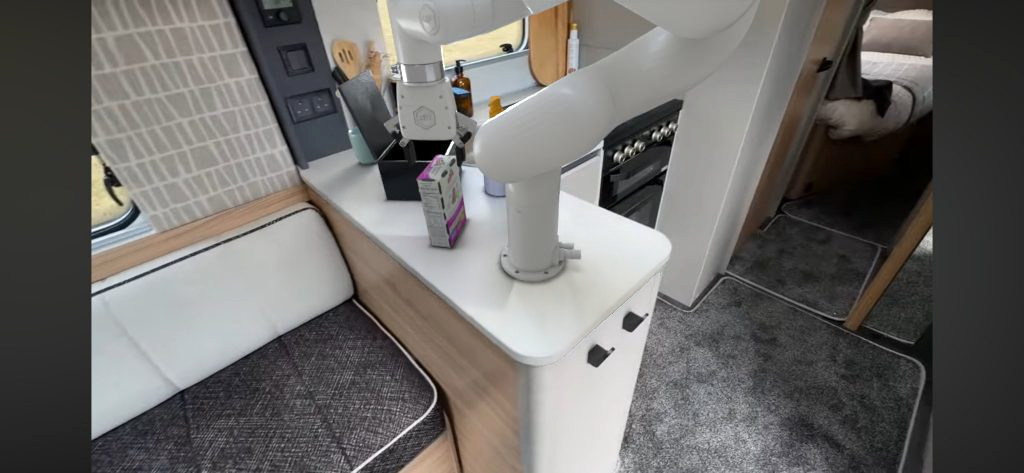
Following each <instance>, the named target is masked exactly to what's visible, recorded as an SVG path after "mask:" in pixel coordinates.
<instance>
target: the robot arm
mask: <svg viewBox="0 0 1024 473" xmlns="http://www.w3.org/2000/svg"><path fill="white" fill-rule="evenodd" d="M385 1H386V8H387V12H388V18H389V23H390V28H391V34H392V39H393V46H394V49H395V55H396V60H397V61H396V63H395V64H391V65H390V71H391V73H392V74H397V75H398V77H399V80H398V81H396V105H397V114H396V115H394V116H391V117H392V118H390V119H389V120H387V121H386V122H385V123H384V126H385V127H386V129H387V130H388V131H389V133H391V136H392V137H393V138H394V139H395V140H396V141H397V142H399V143H400V146H401V147H403V150H404V155H405V159H406V160H408V165H409V166H413V165H414V163H415V161H416V153H415V148H414V143H413V141H411V140H450V139H451V140H452V141H453V142H454V143H455V144H456V145H457V146H456V148H455V153H456V161H457V166H458V167H461V166H463V163H464V162H466V160H467V154H466V144H467V143H468V142H469V141H470V140H471V138H472V137H473V135H474V132H475V130H476V127H477V125H478V122H477V121H476V120H474V119H473V118H471V117H469V116H466V115H465V114H464V113H463V114H462V113H461V112H458V109H457V108H458V107H457V104H456V100H455V94H454V90H453V87H452V84H451V81H450V78H449V77H446V70H445V63H444V56H443V55H444V54H443V47H442V46H449V45H453V44H457V43H461V42H463V41H467V40H469V39H473V38H477V37H480V36H484V35H486V34H490V33H492V32H495V31H497V30H499V29H501V28H503V27H506V26H508V25H511V24H514V23H516V22H518V21H521V20H523V19H525V18H528V17H530V16H532V15H539V14H540V13H542V12H545V11H548V10H549V9H552V8H555V7H557V6H559V5H561V4H564V3H566V2H569V0H385ZM612 1H614V2H615V3H616V4H619V5H621V6H622V7H624V8H626V9H627V10H630V11H631V12H632V13H634V14H636V15H638V16H640V17H642V18H643V19H645V20H647V21H648V22H650V23H651V24H652V25H655V26H656V27H654V28H652V29H651V30H649V31H648V32H646V33H644V34H643V35H641V36H639V37H638V38H636V39H634V40H632V41H631V42H629V43H628V44H626V45H624V46H623V47H621V48H620V49H618V50H616V51H614V52H612V53H611V54H609V55H607V56H605V57H603V58H602V59H600V60H598V61H596V62H594V63H592V64H590V65H587V66H585V67H582V68H579V69H576V70H574V71H572V72H569V73H568V74H566V75H565V76H563V77H561V78H559V79H558V80H556V81H554V82H552V83H551V84H549V85H548V86H545V87H544V88H542V89H541V90H539V91H537V92H535V93H534V94H532V95H530V96H528V97H527V98H525V99H522V100H521V101H519V102H516V103H515V104H513V105H511V106H509V107H508V108H506V109H504V112H502V113H500V114H499V115H497V116H495V117H494V118H492V119H490V118H489V119H488V120H486V121H485V122H484V123H483V124H482V125H481V126H480V127H479V128H478V130H476V131H477V132H476V133H475V135H474V138H473V143H472V158H473V161H474V163H475V165H476V168H477V169H478V170H479V172H480V173H481V174H482V175H483V174H484V175H485V176H486V177H487V178H489V179H491V180H493V181H495V182H498V183H504V184H505V188H506V195H505V205H506V206H505V207H506V229H507V230H506V231H507V244H508V245H507V246H505V248H503V250H502V252H501V254H500V264H501V267H502V269H503V270H504V272H505V273H507V274H508V275H509V276H511V277H513V278H514V279H517V280H520V281H525V282H540V281H541V282H542V281H545V280H549V279H551V278H553V277H555V276H556V275H558V274H559V273H560V272H561V271H562V269H563V268H564V265H565V260H581V259H582V250H581V249H574V248H575V243H574V242H565V243H564V242H562V241H559V240H560V239H559V215H560V214H559V213H560V212H559V211H560V196H561V195H560V194H561V181H562V180H561V179H562V169H563V167H564V166H566V165H568V164H571V163H573V162H575V161H578V160H579V159H581V158H583V157H584V156H586V155H587V154H589V153H590V152H592V151H593V150H594V149H595V148H597V146H598V145H599V144H601V143H602V141H604V139H605V138H606V137H607V136H608V135H609V134H610V133H612V131H613V130H614V129H616V128H617V127H619V126H620V125H622V124H624V123H625V122H627V121H630V120H632V119H634V118H636V117H638V116H640V115H642V114H645V113H647V112H649V111H651V110H654V109H655V108H657V107H660V106H661V105H664V104H666V103H668V102H670V101H672V100H674V99H675V100H676V99H677V98H679V97H680V96H683V95H685V94H686V93H687V92H689V91H691V90H693V89H695V88H696V87H697V86H699V85H700V84H702V83H703V82H705V81H706V80H707V79H708V78H709V77H711V76H712V75H713V74H714V73H716V71H718V70H719V69H720V67H721V66H723V65H724V64H725V62H726V61H727V60H728V59H729V58H730V57H731V56H732V54H733V53H734V52H735V50H736V49H737V48H738V47H739V45H740V44H741V43H742V41H743V40H744V38H745V36H746V35H747V33H748V31H749V29H750V27H751V25H752V23H753V21H754V19H755V16H756V15H757V14H756V13H757V12H758V8H759V6H760V3H761V0H612ZM397 124H399V129H398V128H396V127H397ZM460 124H461V125H463V126H466V127H467V129H466V131H465V132H464V133H462V132H461V131H460V130H459V128H460ZM395 125H396V126H395ZM395 140H394V141H395Z"/></svg>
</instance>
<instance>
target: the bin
mask: <svg viewBox="0 0 1024 473" xmlns="http://www.w3.org/2000/svg"><path fill="white" fill-rule="evenodd" d="M411 141H413V143H414V148H415V153H416V161H415V163H414V165H413V166H409V165H408V160H406V159H405V155H404V150H403V147H401V146H400V143H399V142H397V141H396V140H394V141H393V142H392V143H391V144H390V146H389V147H388V148H387V149H386V150H385V151H384V153H383V154H382V155H381V156H380V158H379V160H378V161H376V164H377V168H378V172H379V175H380V176H379V177H380V179H381V183H382V187H383V190H384V194H385V197H386V201H400V202H401V201H402V202H403V201H405V202H406V201H408V202H410V201H411V202H413V201H414V202H421V197H420V192H419V188H418V184H417V180H416V179H417V178H418V177H419V176H420V174H421V173H422V172H423V171H424V170H425V169H426V167H427V166H428V165H429V164H430V163H431V161H432V160H433V159H434V158H435V157H436V155H451V156H456V153H455V148H456V146H457V145H456V144H455V143H454V142H453V141H452V140H451V139H450V140H411ZM462 166H463V165H462ZM462 166H461V167H459V172H460V177H462V173H463V168H462Z"/></svg>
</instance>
